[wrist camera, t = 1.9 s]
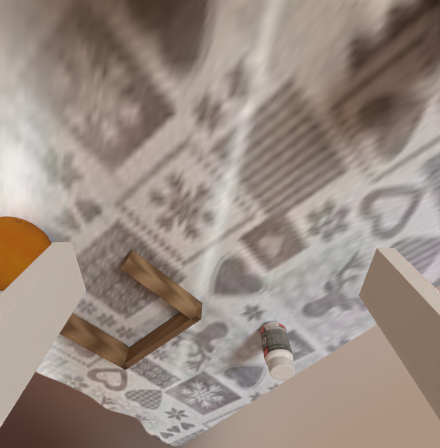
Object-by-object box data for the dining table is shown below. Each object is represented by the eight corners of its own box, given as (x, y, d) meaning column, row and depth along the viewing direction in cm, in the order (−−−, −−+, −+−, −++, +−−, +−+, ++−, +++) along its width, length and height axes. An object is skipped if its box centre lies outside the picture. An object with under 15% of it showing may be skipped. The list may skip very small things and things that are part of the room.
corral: (62, 312, 47) (51, 328, 44) (132, 249, 40) (125, 263, 37) (130, 352, 52) (125, 369, 49) (202, 303, 46) (201, 319, 43)
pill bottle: (257, 323, 48) (264, 366, 41) (282, 318, 48) (294, 361, 40) (262, 339, 50) (270, 383, 43) (286, 335, 50) (298, 378, 43)
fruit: (59, 212, 37) (21, 243, 30) (69, 270, 42) (39, 308, 35) (-18, 203, 36) (-75, 232, 29) (1, 263, 41) (-43, 300, 34)
